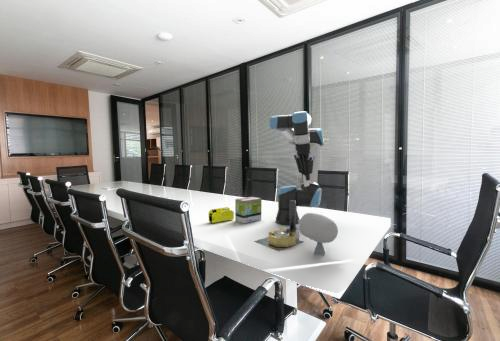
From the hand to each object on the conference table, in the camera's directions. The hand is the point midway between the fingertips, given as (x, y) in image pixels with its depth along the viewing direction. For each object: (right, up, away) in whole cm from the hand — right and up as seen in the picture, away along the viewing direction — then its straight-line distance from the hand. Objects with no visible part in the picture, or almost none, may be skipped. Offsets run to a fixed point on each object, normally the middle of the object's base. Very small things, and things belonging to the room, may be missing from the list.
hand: (306, 185), depth 136 cm
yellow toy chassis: (-49, -26, +32) cm, 64 cm away
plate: (-16, -28, -12) cm, 34 cm away
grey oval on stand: (-1, -28, -24) cm, 37 cm away
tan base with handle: (-14, -26, -12) cm, 32 cm away
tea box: (-31, -25, +33) cm, 52 cm away
